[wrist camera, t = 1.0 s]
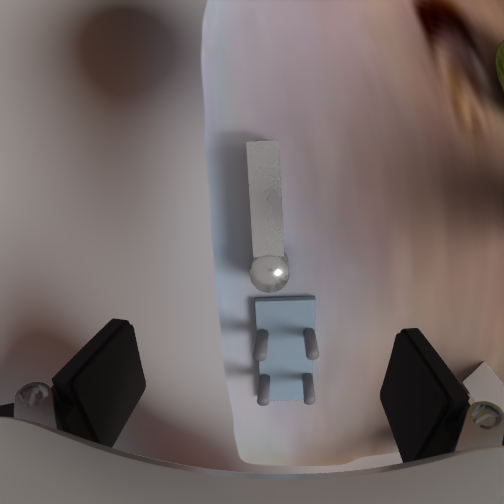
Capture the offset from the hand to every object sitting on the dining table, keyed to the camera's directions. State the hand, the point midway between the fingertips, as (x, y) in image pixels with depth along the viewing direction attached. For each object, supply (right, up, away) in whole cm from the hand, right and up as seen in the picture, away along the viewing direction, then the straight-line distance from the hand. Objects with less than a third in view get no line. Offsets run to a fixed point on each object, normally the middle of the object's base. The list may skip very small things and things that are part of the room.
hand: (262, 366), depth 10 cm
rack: (+5, -11, +33) cm, 35 cm away
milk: (+44, -21, +32) cm, 58 cm away
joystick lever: (+2, +9, +28) cm, 29 cm away
